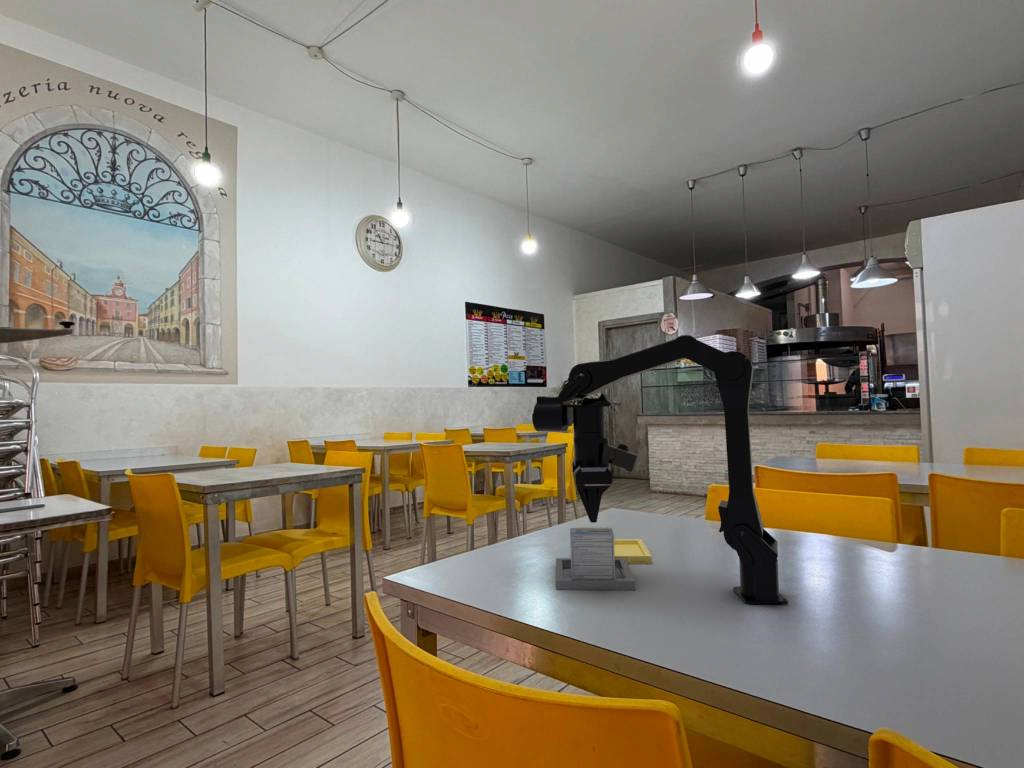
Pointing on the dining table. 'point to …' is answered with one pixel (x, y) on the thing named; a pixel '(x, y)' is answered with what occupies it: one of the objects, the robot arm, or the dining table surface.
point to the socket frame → (594, 584)
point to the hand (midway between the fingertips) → (591, 516)
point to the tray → (632, 551)
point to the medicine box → (592, 553)
